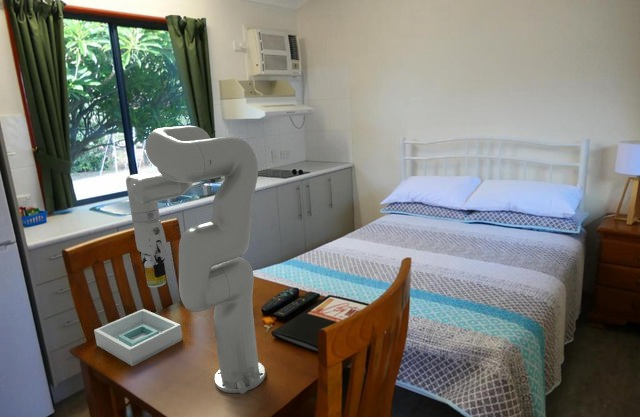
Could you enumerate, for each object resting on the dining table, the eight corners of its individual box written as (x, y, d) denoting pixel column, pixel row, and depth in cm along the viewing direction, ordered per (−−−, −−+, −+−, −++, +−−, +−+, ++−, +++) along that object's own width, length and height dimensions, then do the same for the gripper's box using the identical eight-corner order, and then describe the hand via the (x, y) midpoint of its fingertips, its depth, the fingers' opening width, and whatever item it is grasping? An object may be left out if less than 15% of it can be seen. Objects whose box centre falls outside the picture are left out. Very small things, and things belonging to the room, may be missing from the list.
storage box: (182, 339, 130) (180, 324, 129) (132, 366, 118) (129, 349, 117) (145, 322, 143) (143, 308, 141) (96, 345, 130) (93, 330, 129)
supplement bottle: (159, 288, 130) (154, 257, 127) (143, 287, 131) (138, 256, 129) (169, 281, 135) (165, 251, 133) (154, 280, 136) (149, 251, 134)
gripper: (173, 216, 125) (182, 275, 129) (142, 210, 136) (151, 265, 140) (149, 222, 120) (158, 284, 124) (119, 215, 131) (129, 272, 135)
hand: (155, 273), depth 132 cm, fingers closed on supplement bottle, 5 cm apart
